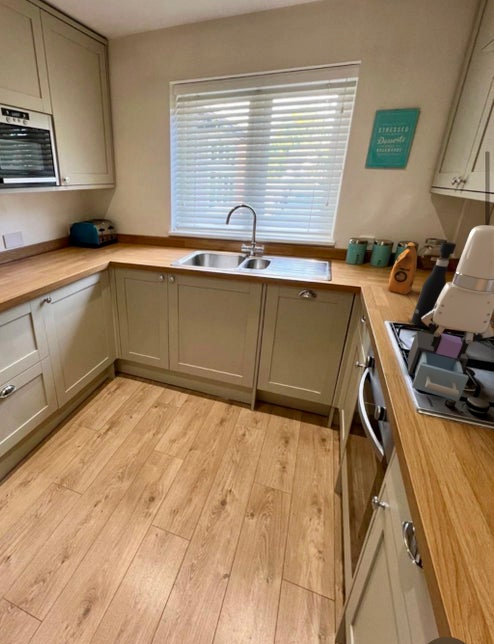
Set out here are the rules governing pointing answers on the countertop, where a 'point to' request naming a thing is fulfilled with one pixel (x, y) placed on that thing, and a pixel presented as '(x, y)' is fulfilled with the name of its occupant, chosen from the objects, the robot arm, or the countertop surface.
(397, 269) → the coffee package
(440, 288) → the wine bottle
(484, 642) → the countertop surface
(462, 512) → the countertop surface
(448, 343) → the lavender cube
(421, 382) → the drawer
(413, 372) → the compartment
